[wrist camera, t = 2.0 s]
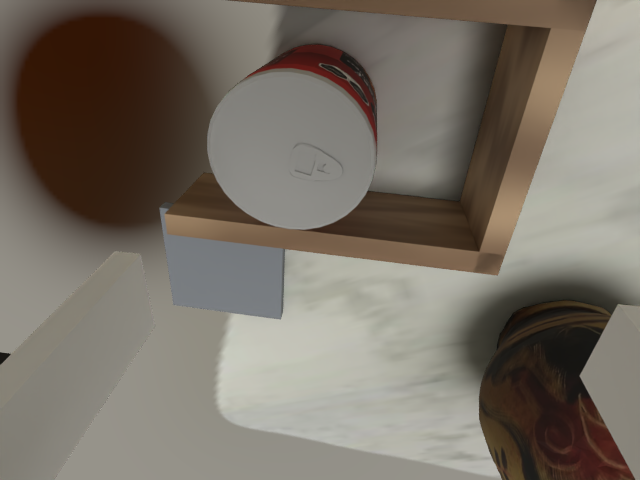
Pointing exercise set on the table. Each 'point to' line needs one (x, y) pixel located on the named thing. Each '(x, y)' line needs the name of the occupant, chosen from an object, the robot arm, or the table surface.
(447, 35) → the table surface
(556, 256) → the table surface
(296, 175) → the canned food
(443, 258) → the shelf
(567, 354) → the ceramic jug
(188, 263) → the coaster
